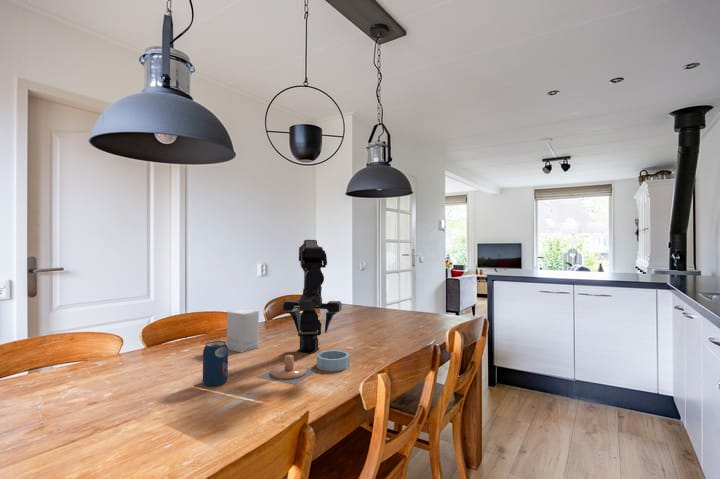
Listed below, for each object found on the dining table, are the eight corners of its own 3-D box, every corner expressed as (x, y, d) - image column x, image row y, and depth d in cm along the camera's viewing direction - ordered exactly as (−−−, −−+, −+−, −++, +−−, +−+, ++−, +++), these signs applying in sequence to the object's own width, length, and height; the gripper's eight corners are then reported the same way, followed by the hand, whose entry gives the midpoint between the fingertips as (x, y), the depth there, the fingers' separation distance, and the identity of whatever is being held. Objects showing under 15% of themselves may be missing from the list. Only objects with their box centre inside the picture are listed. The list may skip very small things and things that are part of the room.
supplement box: (259, 347, 149) (259, 310, 150) (241, 353, 142) (241, 313, 142) (244, 344, 154) (244, 308, 154) (225, 349, 147) (226, 311, 147)
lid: (263, 376, 116) (264, 358, 116) (284, 366, 126) (285, 349, 126) (293, 381, 111) (293, 363, 111) (312, 370, 121) (312, 353, 121)
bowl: (310, 369, 124) (310, 357, 124) (326, 360, 134) (327, 348, 134) (340, 374, 119) (340, 361, 119) (354, 364, 129) (354, 352, 129)
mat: (256, 378, 115) (256, 377, 115) (283, 365, 128) (283, 364, 128) (294, 385, 109) (294, 384, 109) (319, 371, 122) (319, 369, 122)
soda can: (229, 385, 109) (230, 344, 109) (204, 390, 105) (204, 347, 106) (225, 378, 115) (226, 339, 115) (201, 382, 111) (201, 342, 112)
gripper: (277, 286, 116) (276, 337, 115) (335, 287, 113) (335, 339, 113) (288, 283, 127) (287, 329, 126) (342, 284, 124) (341, 331, 124)
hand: (312, 332), depth 122 cm, fingers open, 9 cm apart
